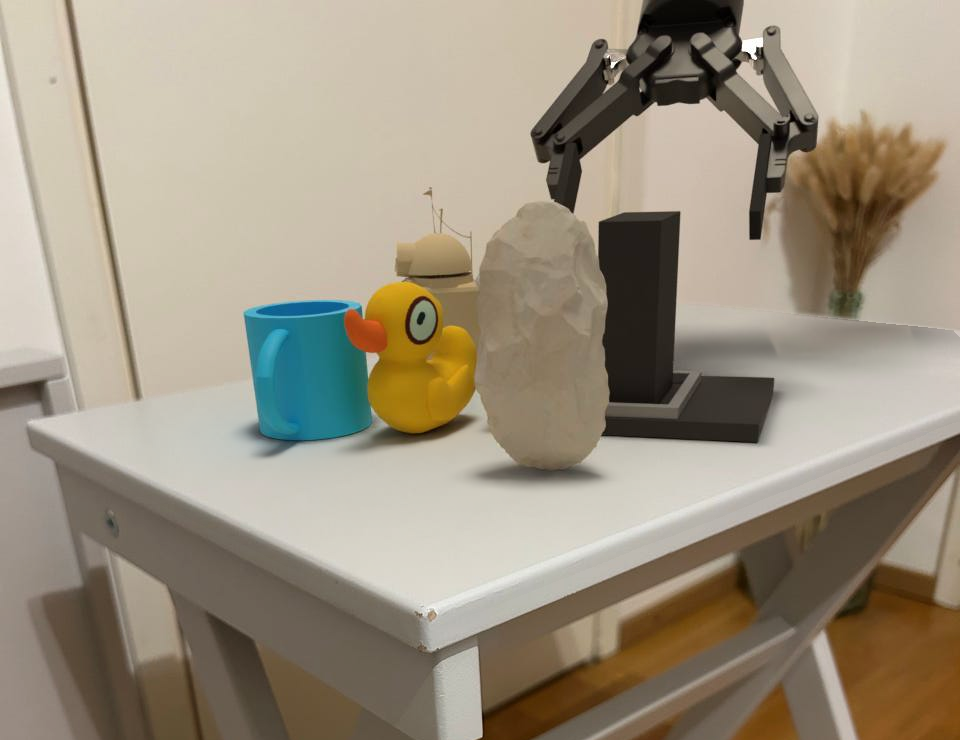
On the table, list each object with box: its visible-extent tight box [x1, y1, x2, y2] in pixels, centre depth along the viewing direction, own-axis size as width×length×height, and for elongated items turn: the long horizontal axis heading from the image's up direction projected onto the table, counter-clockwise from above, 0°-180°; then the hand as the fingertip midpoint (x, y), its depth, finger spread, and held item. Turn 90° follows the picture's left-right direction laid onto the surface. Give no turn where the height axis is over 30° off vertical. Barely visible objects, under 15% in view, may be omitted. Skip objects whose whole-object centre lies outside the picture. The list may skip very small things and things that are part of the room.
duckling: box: [344, 281, 477, 434], centre depth 68 cm, size 11×5×10 cm, turn 140°
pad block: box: [597, 210, 682, 404], centre depth 69 cm, size 4×8×12 cm, turn 161°
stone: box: [474, 200, 610, 471], centre depth 57 cm, size 8×5×15 cm
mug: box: [243, 299, 373, 441], centre depth 69 cm, size 12×8×8 cm
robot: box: [394, 186, 481, 361], centre depth 82 cm, size 10×8×15 cm
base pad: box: [601, 369, 775, 443], centre depth 72 cm, size 18×14×2 cm
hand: (654, 228), depth 69 cm, fingers open, 13 cm apart
